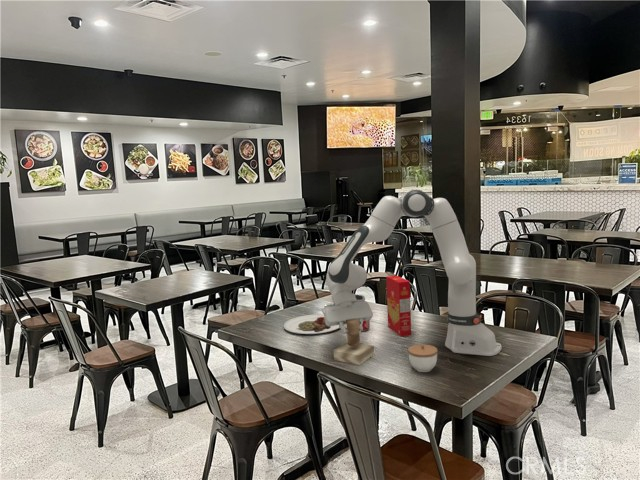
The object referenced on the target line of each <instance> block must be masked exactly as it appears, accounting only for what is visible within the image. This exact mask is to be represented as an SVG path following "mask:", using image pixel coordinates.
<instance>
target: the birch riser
mask: <svg viewBox="0 0 640 480" xmlns="http://www.w3.org/2000/svg"><path fill="white" fill-rule="evenodd" d="M373 355H374V356H375V345H372V344H367V343H361V342H360V344H359V345H358V346H349V345H348V343H347V342H345V343H344V344H342V345H340V346H339V347H337V348H335V349H333V360H334V361H337V362H343V363H348V364H351V365H352V364H353V365H357V366H362V364H364V363H365V362H366V360H367V359H368V360H369V359H371V358H373ZM370 357H371V358H370ZM368 360H367V361H368ZM363 362H364V363H363Z"/></svg>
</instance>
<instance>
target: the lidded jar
mask: <svg viewBox="0 0 640 480" xmlns="http://www.w3.org/2000/svg"><path fill="white" fill-rule="evenodd" d="M407 351H408V359H409V363H410V365H411V366H412V367H413V368H414V370H415V371H416V370H417V372H419V373H428V372H431V371H432V370H433V369H434V368H435V366H436V364H437V360H438V348H437V347H435V346H434V345H431V344H422V343H421V344H415V345H411V346H409V347H408V350H407Z"/></svg>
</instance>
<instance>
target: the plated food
mask: <svg viewBox="0 0 640 480" xmlns="http://www.w3.org/2000/svg"><path fill="white" fill-rule="evenodd" d="M283 328H284V329H285V330H286V331H288V332H290V333H294V334H303V335H315V334H316V335H319V334H323V333H329V332H333V331H336V330H338V329H341V328H340V327H339V325H335V326H327V325H326V323H325V318H324V314H320V313H319V314H306V315H300V316H296V317H293V318H291V319H288V320H286V321H285V322H284V324H283Z"/></svg>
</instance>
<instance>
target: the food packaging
mask: <svg viewBox="0 0 640 480" xmlns="http://www.w3.org/2000/svg"><path fill="white" fill-rule="evenodd" d="M385 278H386V279H385V281H386V308H387V311H386V312H387V327H388V329H390V330H392V332H394V333H395V334H397V335H398V336H400V337H407V336H412V318H411V317H412V315H411V313H412V312H411V285H410V284H411V282H410V280H408V279H405V278H404V277H402V276H399V275H397V274H396V275H389V276H388V275H387V276H386V277H385Z"/></svg>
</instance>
